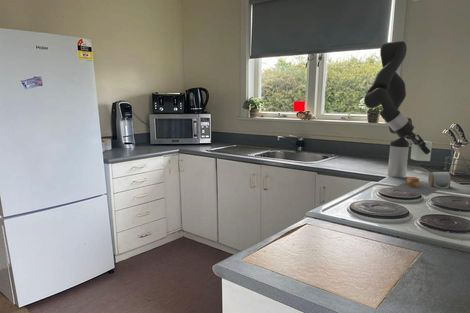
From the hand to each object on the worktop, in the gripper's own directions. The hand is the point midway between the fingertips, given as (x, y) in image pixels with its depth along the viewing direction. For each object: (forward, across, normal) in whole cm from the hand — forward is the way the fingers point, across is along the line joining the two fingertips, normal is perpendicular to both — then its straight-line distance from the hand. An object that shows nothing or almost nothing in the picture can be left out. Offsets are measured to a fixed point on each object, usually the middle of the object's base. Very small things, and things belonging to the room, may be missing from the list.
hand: (424, 151), depth 149 cm
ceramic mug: (+23, +12, +4) cm, 26 cm away
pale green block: (+1, 0, +4) cm, 4 cm away
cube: (+13, +9, +13) cm, 20 cm away
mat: (+12, +4, +14) cm, 19 cm away
